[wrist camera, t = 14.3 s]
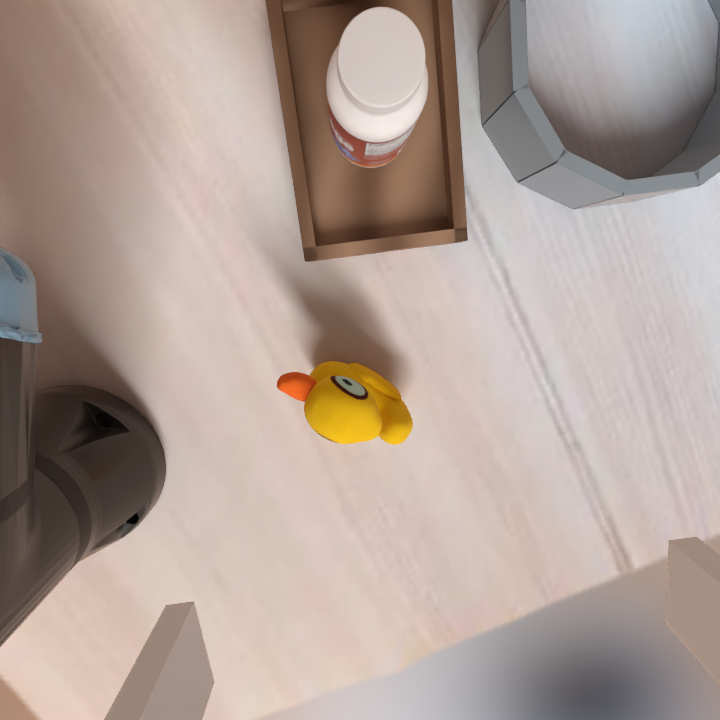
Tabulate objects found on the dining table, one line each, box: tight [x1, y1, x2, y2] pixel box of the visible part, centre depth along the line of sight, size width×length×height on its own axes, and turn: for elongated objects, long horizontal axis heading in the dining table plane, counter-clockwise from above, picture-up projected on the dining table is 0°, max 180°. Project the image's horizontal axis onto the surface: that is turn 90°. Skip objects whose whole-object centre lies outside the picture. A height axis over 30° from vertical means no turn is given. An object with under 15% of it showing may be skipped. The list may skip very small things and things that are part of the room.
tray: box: [266, 0, 468, 262], centre depth 32 cm, size 13×19×3 cm
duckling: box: [277, 361, 413, 444], centre depth 33 cm, size 11×5×10 cm, turn 61°
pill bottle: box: [326, 7, 428, 168], centre depth 27 cm, size 6×6×11 cm
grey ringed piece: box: [478, 0, 720, 209], centre depth 29 cm, size 20×20×6 cm
